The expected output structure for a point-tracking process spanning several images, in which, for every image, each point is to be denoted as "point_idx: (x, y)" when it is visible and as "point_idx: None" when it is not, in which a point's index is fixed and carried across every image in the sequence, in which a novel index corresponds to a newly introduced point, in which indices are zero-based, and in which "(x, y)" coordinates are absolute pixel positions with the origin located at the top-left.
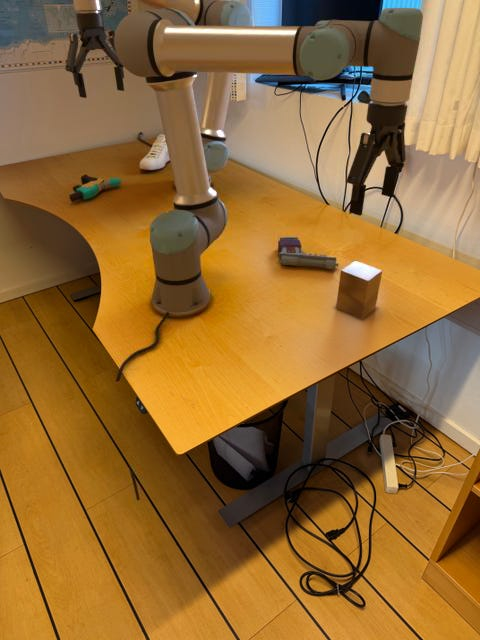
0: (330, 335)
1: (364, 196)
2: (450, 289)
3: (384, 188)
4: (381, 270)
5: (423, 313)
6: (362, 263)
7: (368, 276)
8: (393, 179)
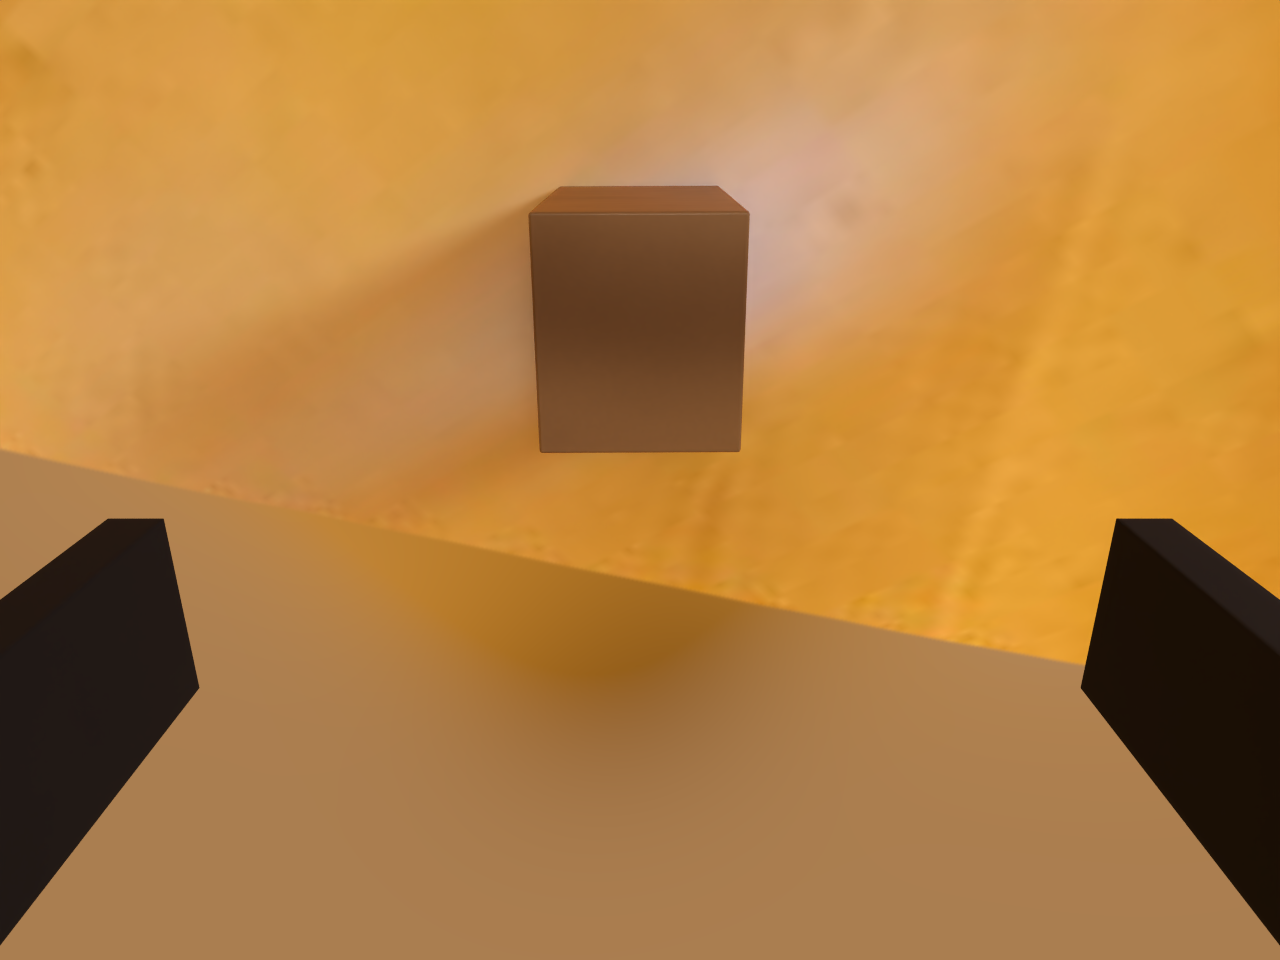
0: (321, 320)
1: (17, 915)
2: None
3: (1171, 614)
4: (738, 445)
5: (835, 570)
6: (742, 284)
7: (595, 422)
8: (1267, 893)
